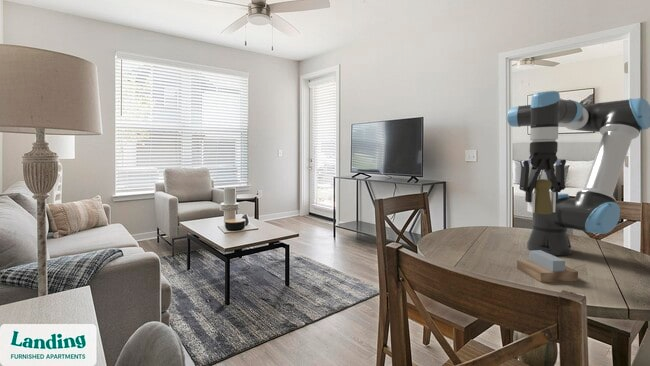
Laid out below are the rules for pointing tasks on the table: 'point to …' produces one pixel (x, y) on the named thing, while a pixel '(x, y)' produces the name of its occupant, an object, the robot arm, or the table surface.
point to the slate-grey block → (547, 260)
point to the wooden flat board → (546, 272)
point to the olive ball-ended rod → (542, 196)
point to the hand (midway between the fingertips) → (541, 211)
